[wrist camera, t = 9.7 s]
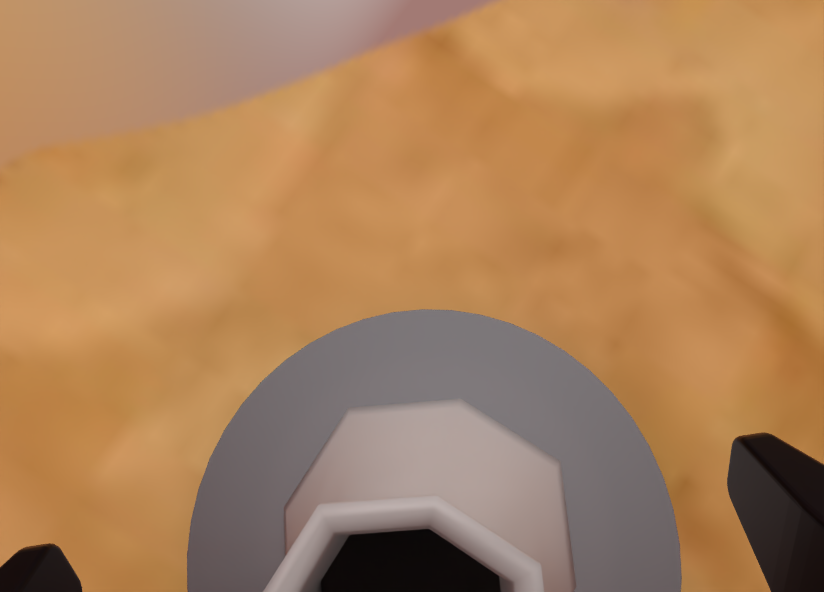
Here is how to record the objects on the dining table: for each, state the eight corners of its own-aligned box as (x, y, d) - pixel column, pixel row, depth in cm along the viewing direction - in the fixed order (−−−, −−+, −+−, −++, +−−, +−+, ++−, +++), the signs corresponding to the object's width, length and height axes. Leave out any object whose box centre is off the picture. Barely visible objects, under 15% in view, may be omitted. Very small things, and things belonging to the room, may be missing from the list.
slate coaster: (700, 817, 15) (713, 835, 15) (185, 819, 16) (172, 838, 15) (642, 308, 18) (650, 300, 18) (210, 324, 19) (199, 317, 18)
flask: (325, 366, 18) (177, 243, 8) (601, 434, 17) (812, 391, 7) (242, 661, 16) (-74, 962, 6) (544, 751, 15) (716, 1256, 5)
